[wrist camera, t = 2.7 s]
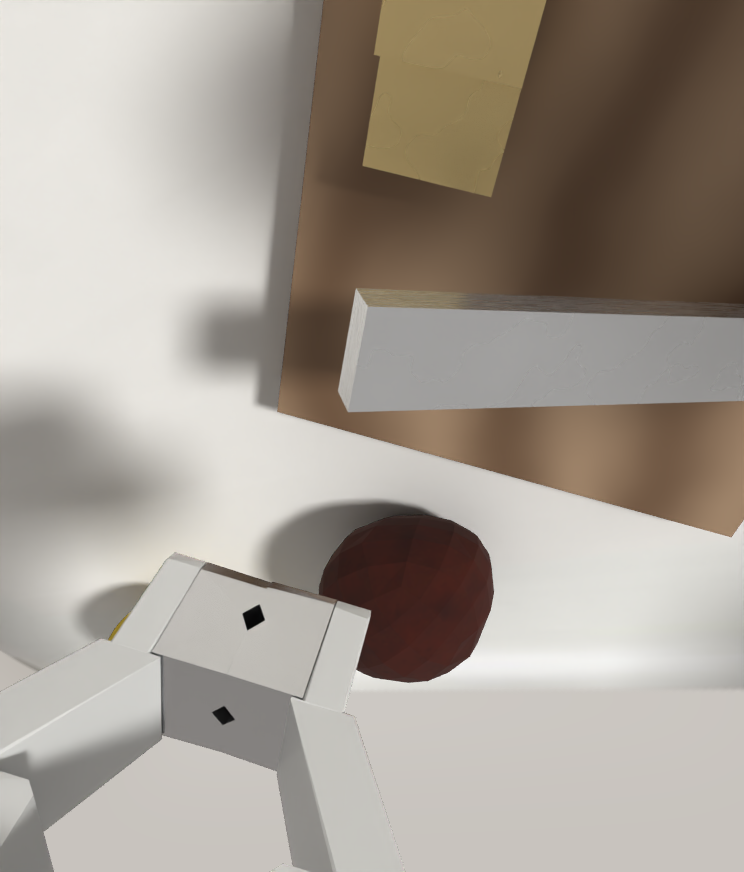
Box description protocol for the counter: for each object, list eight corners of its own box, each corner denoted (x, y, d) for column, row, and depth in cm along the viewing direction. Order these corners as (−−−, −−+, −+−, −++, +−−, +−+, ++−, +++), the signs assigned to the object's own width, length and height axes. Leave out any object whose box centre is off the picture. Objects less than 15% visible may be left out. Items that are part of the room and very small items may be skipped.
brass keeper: (558, -45, 18) (561, -54, 15) (495, 180, 21) (489, 204, 18) (417, -75, 18) (396, -89, 15) (377, 152, 21) (355, 172, 19)
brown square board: (1030, 39, 18) (1078, 43, 17) (720, 507, 29) (731, 537, 27) (353, -104, 20) (336, -115, 18) (291, 389, 30) (277, 411, 28)
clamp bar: (825, 307, 21) (851, 321, 21) (777, 383, 23) (799, 399, 22) (356, 288, 16) (368, 306, 15) (338, 390, 17) (347, 412, 17)
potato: (307, 535, 35) (256, 650, 29) (427, 445, 30) (397, 560, 24) (411, 621, 37) (386, 746, 31) (540, 549, 32) (540, 680, 26)
